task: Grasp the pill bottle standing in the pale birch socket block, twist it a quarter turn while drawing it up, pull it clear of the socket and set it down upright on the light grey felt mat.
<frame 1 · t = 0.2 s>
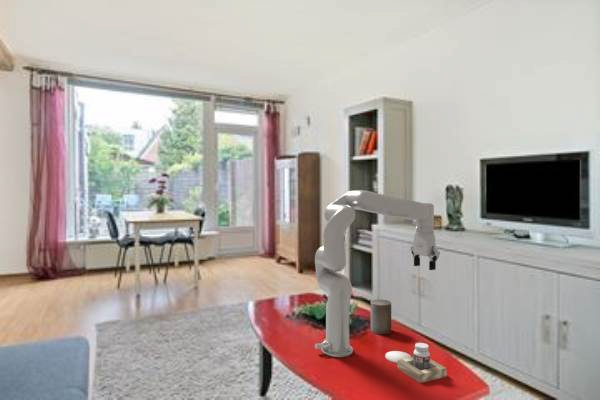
hand: (424, 267, 173), 31 cm above the table, fingers open, 9 cm apart
pill bottle: (421, 372, 138), resting in socket block
pillar candle: (380, 331, 179), on the table
socket block: (421, 372, 138), on the table
felt mat: (398, 357, 150), on the table
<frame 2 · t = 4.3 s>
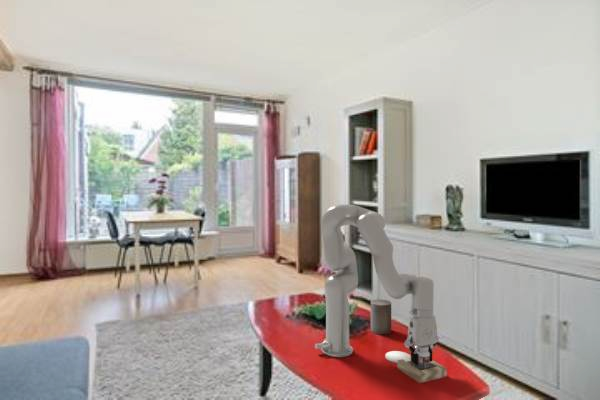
hand: (421, 361, 138), 4 cm above the table, fingers closed on pill bottle, 5 cm apart
pill bottle: (421, 372, 138), resting in socket block, touching gripper
everything else where it was.
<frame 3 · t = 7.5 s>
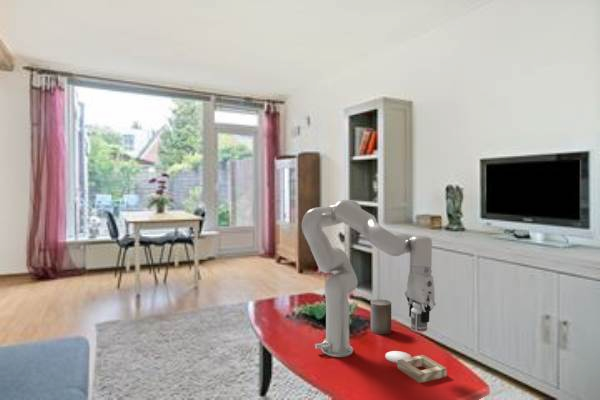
hand: (419, 318, 139), 19 cm above the table, fingers closed on pill bottle, 5 cm apart
pill bottle: (418, 330, 139), point 15 cm above the table, touching gripper
everything else where it was.
when the fingers open (6 cm above the table, at t = 11.2 s): pill bottle drops 1 cm, resting on felt mat.
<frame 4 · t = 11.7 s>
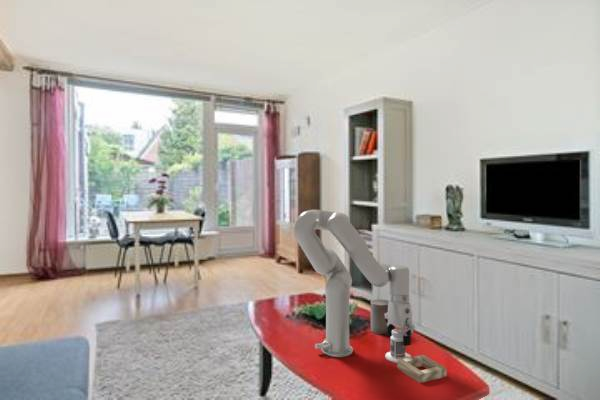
hand: (398, 340, 150), 7 cm above the table, fingers open, 9 cm apart
pill bottle: (397, 356, 150), resting on felt mat
everything else where it was.
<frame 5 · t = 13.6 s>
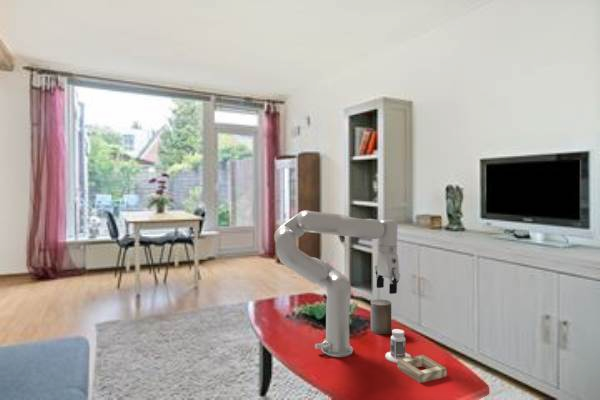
hand: (386, 290, 158), 24 cm above the table, fingers open, 9 cm apart
nothing on the table moved.
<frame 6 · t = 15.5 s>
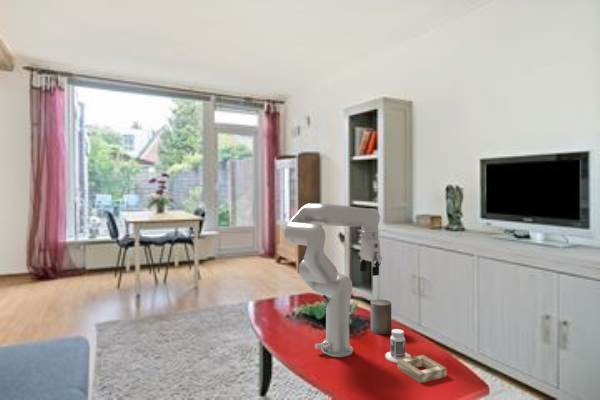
hand: (369, 273, 173), 28 cm above the table, fingers open, 9 cm apart
nothing on the table moved.
at the end: pill bottle 0.3 cm off-centre on the felt mat, point 0.4 cm above the felt mat's base; pill bottle tilted 0°; the gripper is holding nothing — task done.
